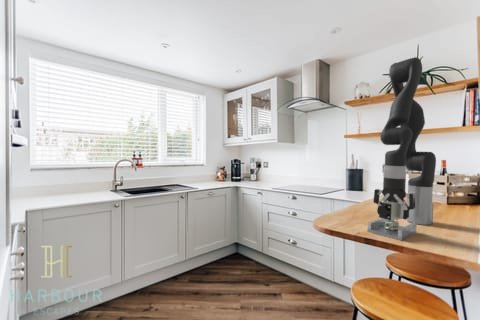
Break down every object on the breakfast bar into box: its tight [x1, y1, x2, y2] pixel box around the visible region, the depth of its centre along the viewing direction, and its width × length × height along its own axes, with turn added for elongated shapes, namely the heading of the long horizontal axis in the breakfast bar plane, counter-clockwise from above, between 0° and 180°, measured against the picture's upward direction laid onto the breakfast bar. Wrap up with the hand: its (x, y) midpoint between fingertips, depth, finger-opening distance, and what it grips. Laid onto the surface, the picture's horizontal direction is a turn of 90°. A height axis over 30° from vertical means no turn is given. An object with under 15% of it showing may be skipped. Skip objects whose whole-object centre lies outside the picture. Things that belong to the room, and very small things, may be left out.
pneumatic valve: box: [376, 201, 404, 231], centre depth 96 cm, size 6×12×12 cm, turn 111°
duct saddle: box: [367, 217, 418, 241], centre depth 96 cm, size 16×12×4 cm
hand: (392, 216), depth 96 cm, fingers open, 8 cm apart
